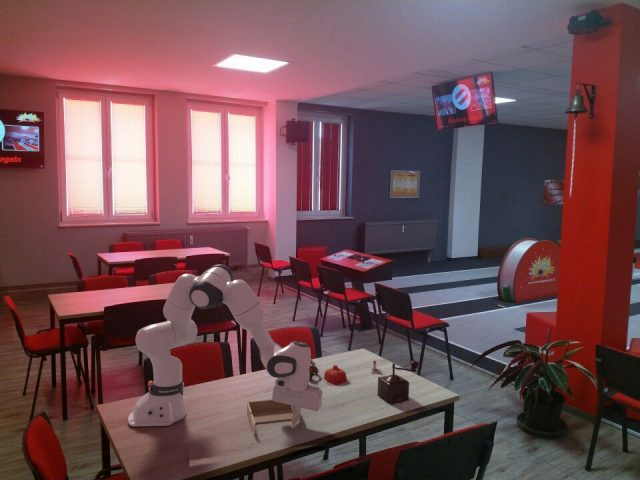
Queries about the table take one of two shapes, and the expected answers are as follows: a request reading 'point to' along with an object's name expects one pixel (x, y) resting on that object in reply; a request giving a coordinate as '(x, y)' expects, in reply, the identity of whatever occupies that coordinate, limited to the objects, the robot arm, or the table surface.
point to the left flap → (252, 422)
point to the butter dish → (335, 375)
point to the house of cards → (375, 368)
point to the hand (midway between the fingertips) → (295, 416)
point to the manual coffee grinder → (395, 386)
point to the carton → (269, 411)
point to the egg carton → (313, 363)
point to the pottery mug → (312, 371)
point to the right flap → (296, 418)
